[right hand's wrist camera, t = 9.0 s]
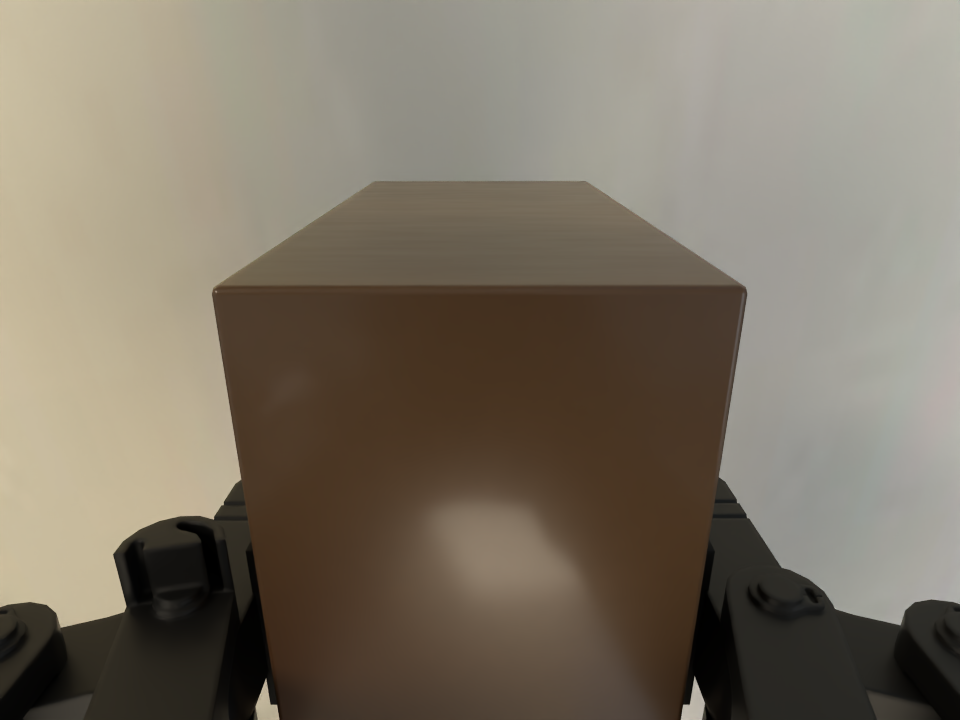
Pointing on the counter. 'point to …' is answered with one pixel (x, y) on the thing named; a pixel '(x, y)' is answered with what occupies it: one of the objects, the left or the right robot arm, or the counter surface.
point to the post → (479, 452)
